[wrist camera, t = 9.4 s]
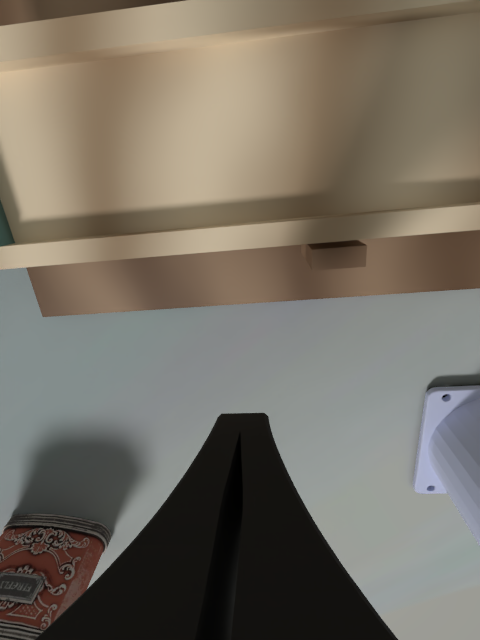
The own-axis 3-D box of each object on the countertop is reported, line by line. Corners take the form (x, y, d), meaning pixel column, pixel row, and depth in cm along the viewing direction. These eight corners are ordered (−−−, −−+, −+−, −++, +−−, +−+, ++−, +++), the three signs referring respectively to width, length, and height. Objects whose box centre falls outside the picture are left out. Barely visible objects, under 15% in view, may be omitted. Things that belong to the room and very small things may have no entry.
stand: (777, -139, 11) (1080, -328, 7) (630, 272, 16) (754, 302, 12) (-52, -7, 14) (-185, -89, 10) (51, 311, 19) (-7, 346, 15)
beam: (805, -48, 10) (954, -111, 8) (703, 201, 12) (795, 204, 10) (-54, 64, 11) (-121, 39, 9) (13, 259, 14) (-28, 272, 12)
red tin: (109, 519, 25) (22, 713, 16) (112, 549, 27) (34, 744, 17) (5, 509, 25) (-140, 694, 16) (14, 539, 27) (-116, 726, 17)
